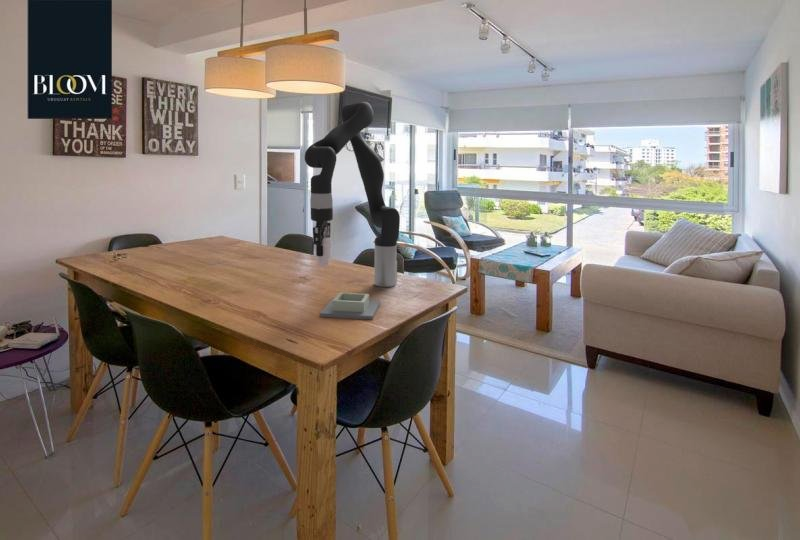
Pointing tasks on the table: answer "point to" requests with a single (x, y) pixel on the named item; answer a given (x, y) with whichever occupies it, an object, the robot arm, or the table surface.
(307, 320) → the table surface
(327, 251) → the smoothie
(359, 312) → the stand
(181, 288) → the table surface
